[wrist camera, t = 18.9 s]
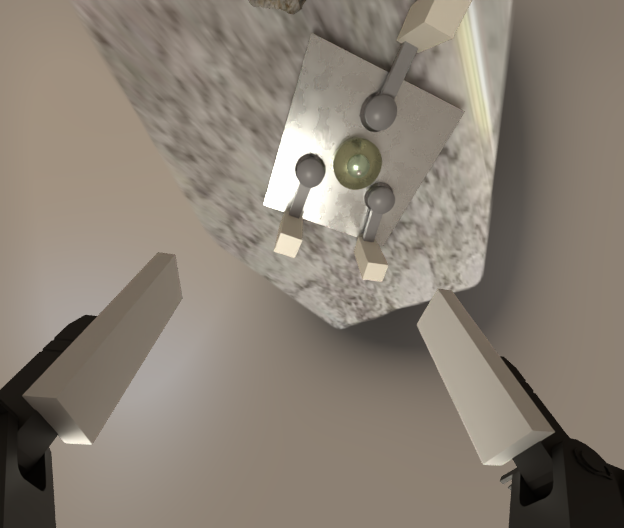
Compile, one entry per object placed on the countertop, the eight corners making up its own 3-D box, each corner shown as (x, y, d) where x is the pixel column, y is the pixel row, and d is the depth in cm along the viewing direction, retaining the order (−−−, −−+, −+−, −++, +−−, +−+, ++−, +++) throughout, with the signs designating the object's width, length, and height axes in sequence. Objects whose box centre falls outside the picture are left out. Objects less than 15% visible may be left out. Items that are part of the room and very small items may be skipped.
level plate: (311, 36, 32) (312, 25, 27) (457, 110, 37) (479, 112, 32) (264, 200, 43) (259, 212, 39) (380, 241, 48) (388, 256, 44)
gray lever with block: (383, 133, 36) (402, 142, 29) (358, 122, 35) (372, 128, 28) (436, 21, 29) (479, -5, 22) (407, 4, 29) (442, -28, 21)
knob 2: (371, 183, 40) (385, 202, 32) (395, 187, 40) (414, 206, 33) (351, 251, 46) (360, 279, 39) (372, 254, 47) (384, 281, 40)
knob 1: (302, 152, 37) (301, 165, 30) (327, 163, 38) (332, 178, 31) (277, 225, 43) (271, 250, 36) (298, 233, 44) (297, 258, 37)
